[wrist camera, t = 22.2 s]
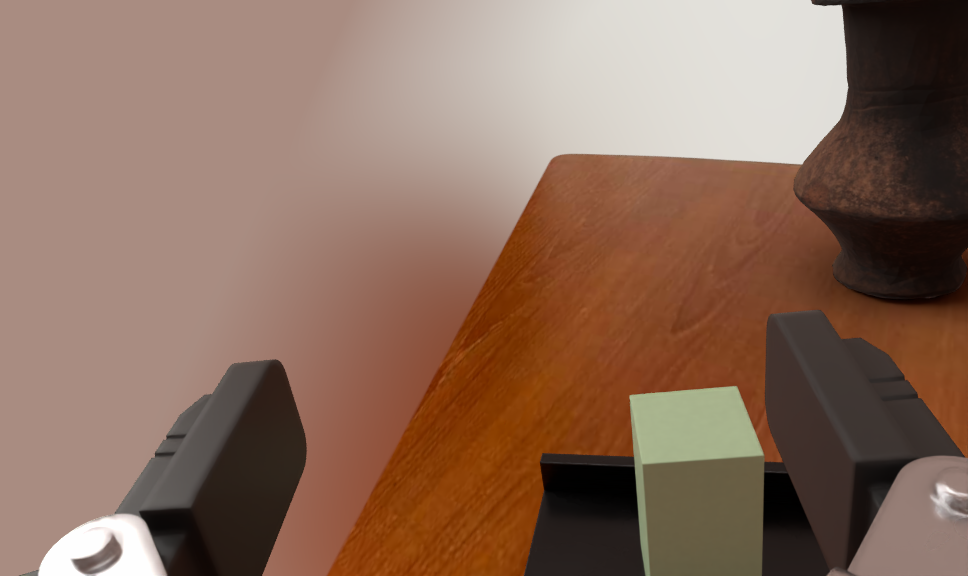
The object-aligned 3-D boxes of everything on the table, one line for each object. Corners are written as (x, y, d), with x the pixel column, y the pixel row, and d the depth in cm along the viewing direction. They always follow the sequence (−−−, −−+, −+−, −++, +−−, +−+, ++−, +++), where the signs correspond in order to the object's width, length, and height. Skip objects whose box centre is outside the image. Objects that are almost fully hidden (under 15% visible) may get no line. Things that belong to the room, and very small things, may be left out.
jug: (914, 353, 61) (965, -56, 48) (748, 274, 77) (751, -53, 63) (1085, 272, 68) (1172, -106, 55) (901, 214, 83) (934, -92, 70)
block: (653, 624, 34) (641, 464, 30) (640, 544, 38) (629, 394, 34) (761, 619, 33) (764, 454, 29) (737, 538, 37) (737, 385, 33)
